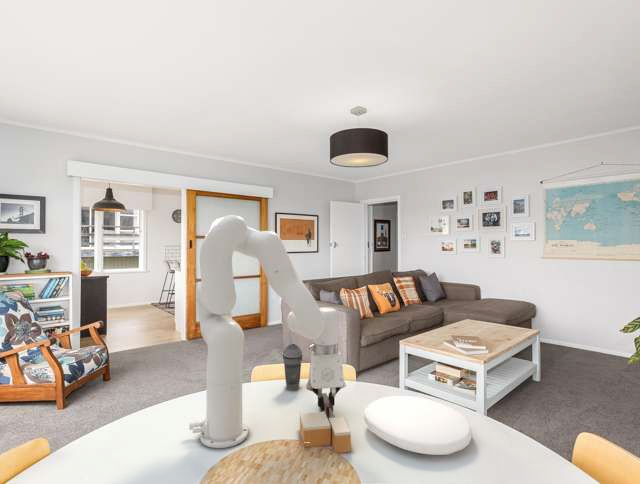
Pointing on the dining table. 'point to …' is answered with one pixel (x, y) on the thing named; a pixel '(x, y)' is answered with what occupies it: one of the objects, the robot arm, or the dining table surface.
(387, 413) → the white round disc
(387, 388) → the dining table surface
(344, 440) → the cake slice
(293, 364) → the beverage cup
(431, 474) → the dining table surface
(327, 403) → the knife
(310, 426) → the cake
